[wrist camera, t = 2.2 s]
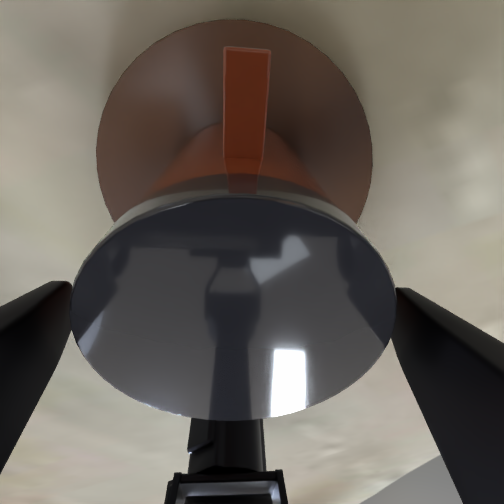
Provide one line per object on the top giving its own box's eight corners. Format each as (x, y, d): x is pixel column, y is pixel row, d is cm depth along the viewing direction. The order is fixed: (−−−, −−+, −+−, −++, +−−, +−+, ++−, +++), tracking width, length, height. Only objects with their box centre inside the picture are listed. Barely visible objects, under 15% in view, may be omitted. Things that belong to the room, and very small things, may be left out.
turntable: (408, 194, 16) (418, 201, 15) (233, 314, 20) (233, 324, 20) (247, -82, 10) (248, -98, 9) (51, 178, 14) (39, 185, 13)
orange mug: (296, 255, 16) (350, 420, 8) (173, 252, 16) (110, 424, 8) (330, 68, 11) (541, 51, 3) (151, 54, 11) (-84, -5, 3)
